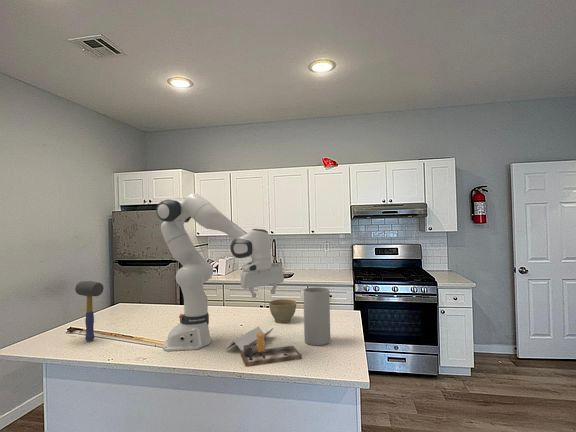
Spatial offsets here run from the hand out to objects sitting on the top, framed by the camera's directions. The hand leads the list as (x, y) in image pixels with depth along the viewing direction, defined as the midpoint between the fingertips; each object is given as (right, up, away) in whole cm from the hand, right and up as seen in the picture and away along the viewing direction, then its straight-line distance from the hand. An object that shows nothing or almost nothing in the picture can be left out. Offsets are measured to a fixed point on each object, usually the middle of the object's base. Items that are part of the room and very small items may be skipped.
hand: (263, 295), depth 154 cm
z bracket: (-7, -25, +10) cm, 28 cm away
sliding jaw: (0, -23, -8) cm, 24 cm away
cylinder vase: (+25, -25, +12) cm, 38 cm away
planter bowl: (+8, -26, +48) cm, 55 cm away
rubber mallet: (-89, -27, +18) cm, 94 cm away
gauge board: (+3, -25, -6) cm, 26 cm away
